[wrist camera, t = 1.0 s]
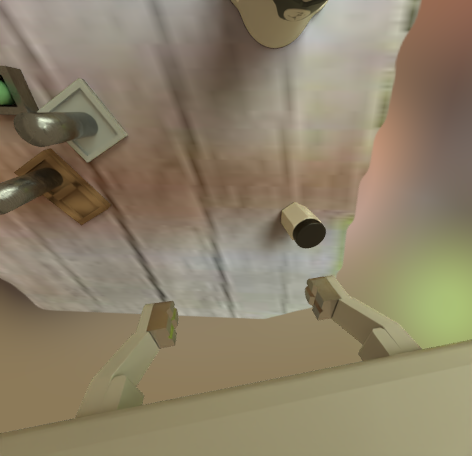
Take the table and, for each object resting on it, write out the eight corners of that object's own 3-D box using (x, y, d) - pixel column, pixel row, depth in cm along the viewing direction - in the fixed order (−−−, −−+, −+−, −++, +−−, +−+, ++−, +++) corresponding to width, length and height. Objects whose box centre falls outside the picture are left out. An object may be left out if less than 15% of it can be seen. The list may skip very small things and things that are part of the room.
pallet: (22, 169, 42) (13, 172, 40) (50, 148, 40) (43, 150, 39) (86, 221, 50) (81, 225, 48) (111, 205, 49) (107, 208, 47)
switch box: (-26, 66, 32) (-45, 63, 30) (20, 69, 33) (5, 65, 31) (0, 113, 36) (-15, 113, 34) (40, 114, 37) (29, 115, 35)
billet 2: (35, 167, 41) (-34, 190, 29) (57, 167, 41) (-2, 189, 30) (45, 186, 43) (-14, 214, 31) (66, 186, 44) (15, 213, 32)
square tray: (42, 111, 37) (36, 111, 36) (83, 79, 35) (78, 78, 34) (91, 161, 43) (87, 162, 41) (128, 135, 41) (125, 136, 40)
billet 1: (69, 111, 37) (6, 112, 25) (93, 112, 38) (42, 113, 26) (78, 135, 39) (25, 146, 28) (101, 136, 40) (57, 147, 28)
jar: (311, 208, 58) (333, 229, 48) (296, 229, 62) (314, 252, 52) (288, 198, 55) (307, 218, 45) (274, 220, 59) (288, 243, 49)
